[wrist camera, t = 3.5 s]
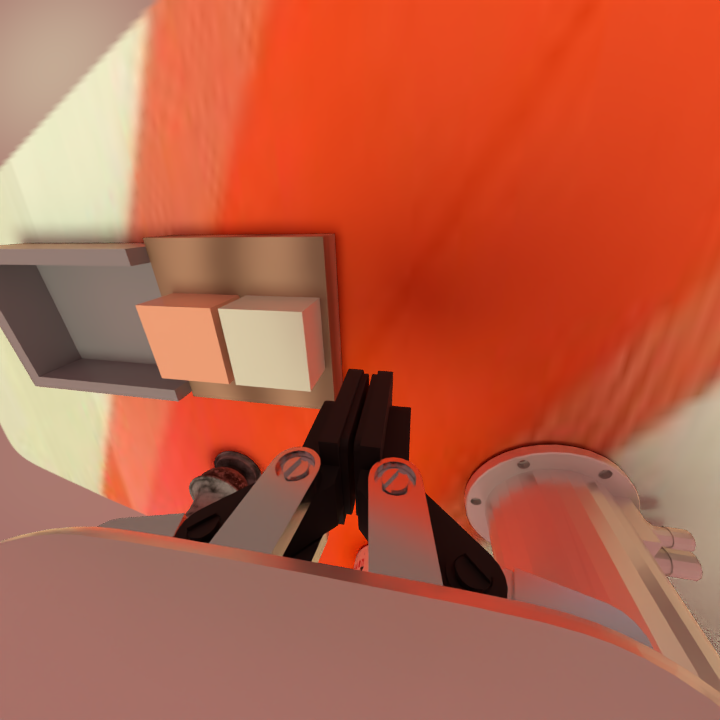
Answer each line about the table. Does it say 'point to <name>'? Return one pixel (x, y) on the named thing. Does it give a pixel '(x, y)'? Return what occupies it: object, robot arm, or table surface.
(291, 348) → the cream white block
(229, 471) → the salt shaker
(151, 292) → the box
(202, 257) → the board
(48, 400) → the table surface
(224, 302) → the salmon orange block
